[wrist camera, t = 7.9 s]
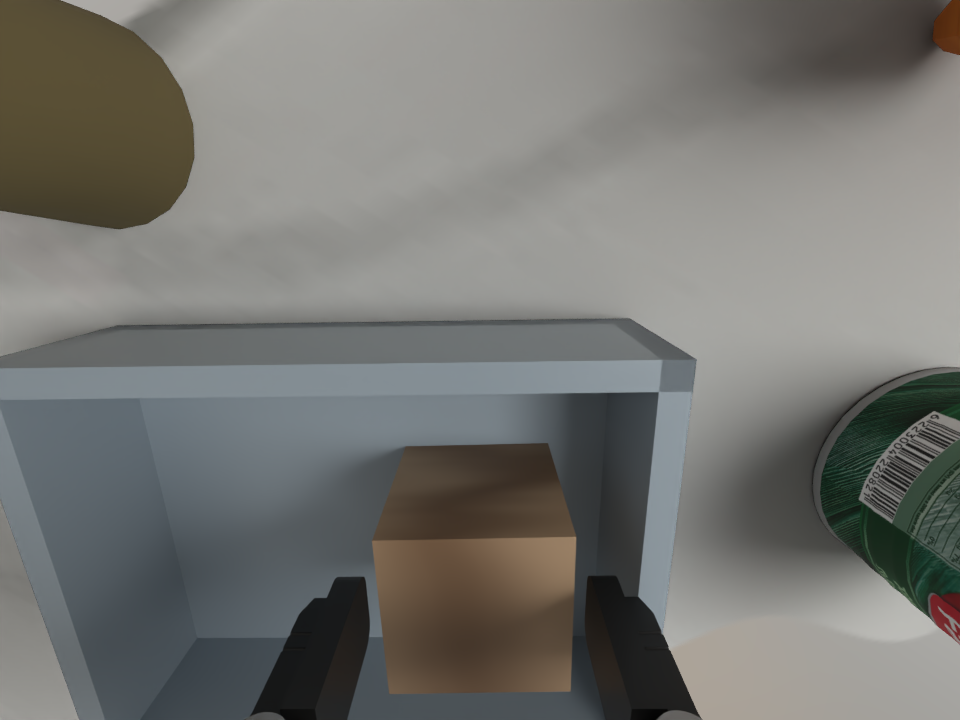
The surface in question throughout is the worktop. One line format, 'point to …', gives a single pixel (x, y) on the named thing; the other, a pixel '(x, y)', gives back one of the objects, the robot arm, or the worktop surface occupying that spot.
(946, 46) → the carrot
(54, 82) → the cork
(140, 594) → the tote
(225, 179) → the worktop surface
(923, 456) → the canned tomato
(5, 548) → the worktop surface
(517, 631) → the walnut cube
